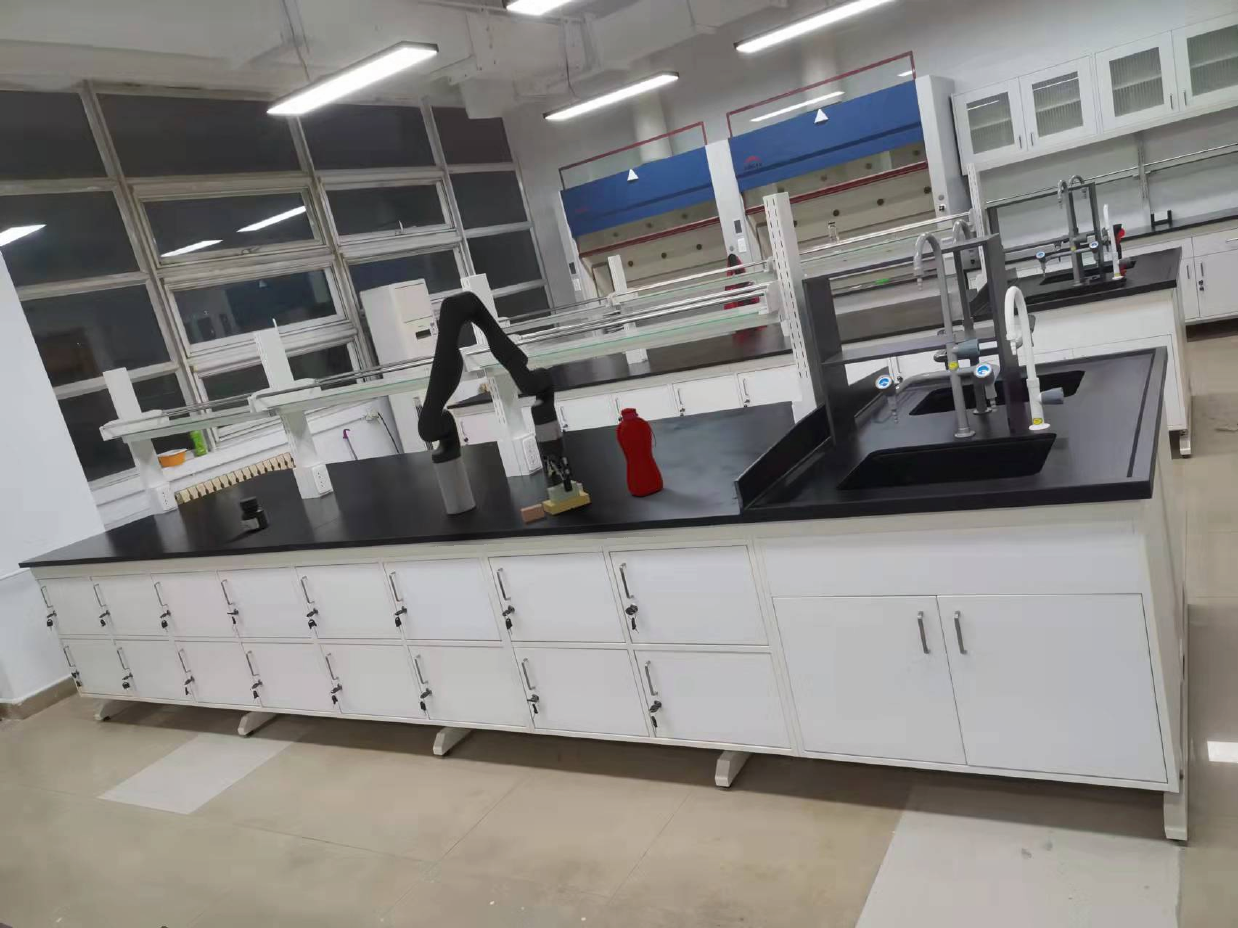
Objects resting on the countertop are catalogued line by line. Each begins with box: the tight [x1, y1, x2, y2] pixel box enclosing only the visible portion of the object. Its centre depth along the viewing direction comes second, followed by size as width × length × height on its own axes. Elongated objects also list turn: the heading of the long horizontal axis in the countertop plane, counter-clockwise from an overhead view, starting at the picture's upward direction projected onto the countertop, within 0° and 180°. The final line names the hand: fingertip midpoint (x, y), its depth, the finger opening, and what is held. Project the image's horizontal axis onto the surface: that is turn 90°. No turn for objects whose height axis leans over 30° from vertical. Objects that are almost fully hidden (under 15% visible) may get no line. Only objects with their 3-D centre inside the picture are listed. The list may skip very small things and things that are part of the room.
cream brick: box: [577, 482, 584, 492], centre depth 266 cm, size 6×3×4 cm, turn 44°
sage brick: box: [546, 479, 580, 503], centre depth 254 cm, size 4×8×4 cm, turn 117°
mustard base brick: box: [541, 490, 591, 515], centre depth 255 cm, size 8×12×3 cm, turn 112°
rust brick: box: [520, 503, 545, 523], centre depth 250 cm, size 6×3×4 cm, turn 104°
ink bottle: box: [238, 495, 270, 533], centre depth 326 cm, size 10×9×12 cm
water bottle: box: [615, 407, 664, 497], centre depth 248 cm, size 9×11×25 cm
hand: (563, 489), depth 254 cm, fingers open, 8 cm apart
